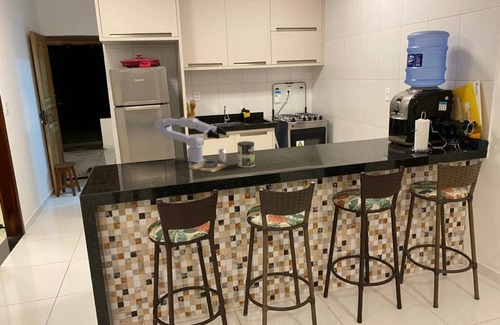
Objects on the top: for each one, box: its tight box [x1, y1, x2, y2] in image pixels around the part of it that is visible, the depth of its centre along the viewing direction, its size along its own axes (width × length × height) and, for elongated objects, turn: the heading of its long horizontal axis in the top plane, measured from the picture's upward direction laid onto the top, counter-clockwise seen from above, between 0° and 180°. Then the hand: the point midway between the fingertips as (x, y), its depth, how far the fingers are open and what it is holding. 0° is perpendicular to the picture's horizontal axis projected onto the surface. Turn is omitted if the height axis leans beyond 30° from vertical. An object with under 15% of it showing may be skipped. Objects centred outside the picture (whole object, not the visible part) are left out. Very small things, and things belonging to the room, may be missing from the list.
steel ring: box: [202, 159, 219, 168], centre depth 221 cm, size 8×8×2 cm
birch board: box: [188, 161, 228, 173], centre depth 222 cm, size 18×14×1 cm
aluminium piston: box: [218, 148, 227, 164], centre depth 234 cm, size 4×4×8 cm
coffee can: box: [236, 140, 256, 168], centre depth 223 cm, size 10×10×14 cm
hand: (222, 135), depth 224 cm, fingers open, 7 cm apart
